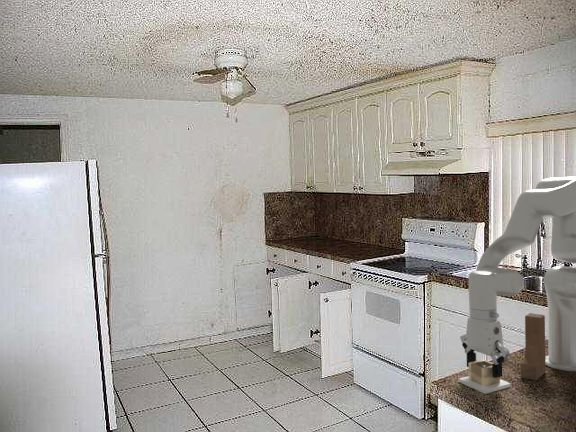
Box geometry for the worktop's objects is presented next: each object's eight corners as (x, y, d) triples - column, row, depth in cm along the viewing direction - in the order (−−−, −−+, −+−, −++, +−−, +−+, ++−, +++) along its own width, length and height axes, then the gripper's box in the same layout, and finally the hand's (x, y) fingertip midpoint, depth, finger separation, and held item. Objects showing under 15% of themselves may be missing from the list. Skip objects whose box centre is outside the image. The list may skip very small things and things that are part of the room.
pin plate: (483, 375, 148) (483, 357, 148) (510, 386, 139) (510, 368, 139) (458, 381, 144) (458, 363, 144) (484, 393, 135) (484, 374, 135)
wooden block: (536, 381, 142) (535, 321, 141) (520, 377, 145) (519, 318, 145) (545, 372, 149) (545, 314, 148) (530, 369, 152) (529, 312, 151)
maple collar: (483, 375, 145) (483, 359, 145) (499, 382, 140) (499, 365, 140) (468, 379, 143) (468, 362, 143) (484, 386, 137) (484, 369, 137)
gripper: (517, 318, 134) (518, 378, 135) (470, 306, 150) (471, 360, 151) (497, 322, 131) (498, 384, 132) (451, 309, 147) (452, 364, 148)
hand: (484, 371), depth 141 cm, fingers open, 9 cm apart
